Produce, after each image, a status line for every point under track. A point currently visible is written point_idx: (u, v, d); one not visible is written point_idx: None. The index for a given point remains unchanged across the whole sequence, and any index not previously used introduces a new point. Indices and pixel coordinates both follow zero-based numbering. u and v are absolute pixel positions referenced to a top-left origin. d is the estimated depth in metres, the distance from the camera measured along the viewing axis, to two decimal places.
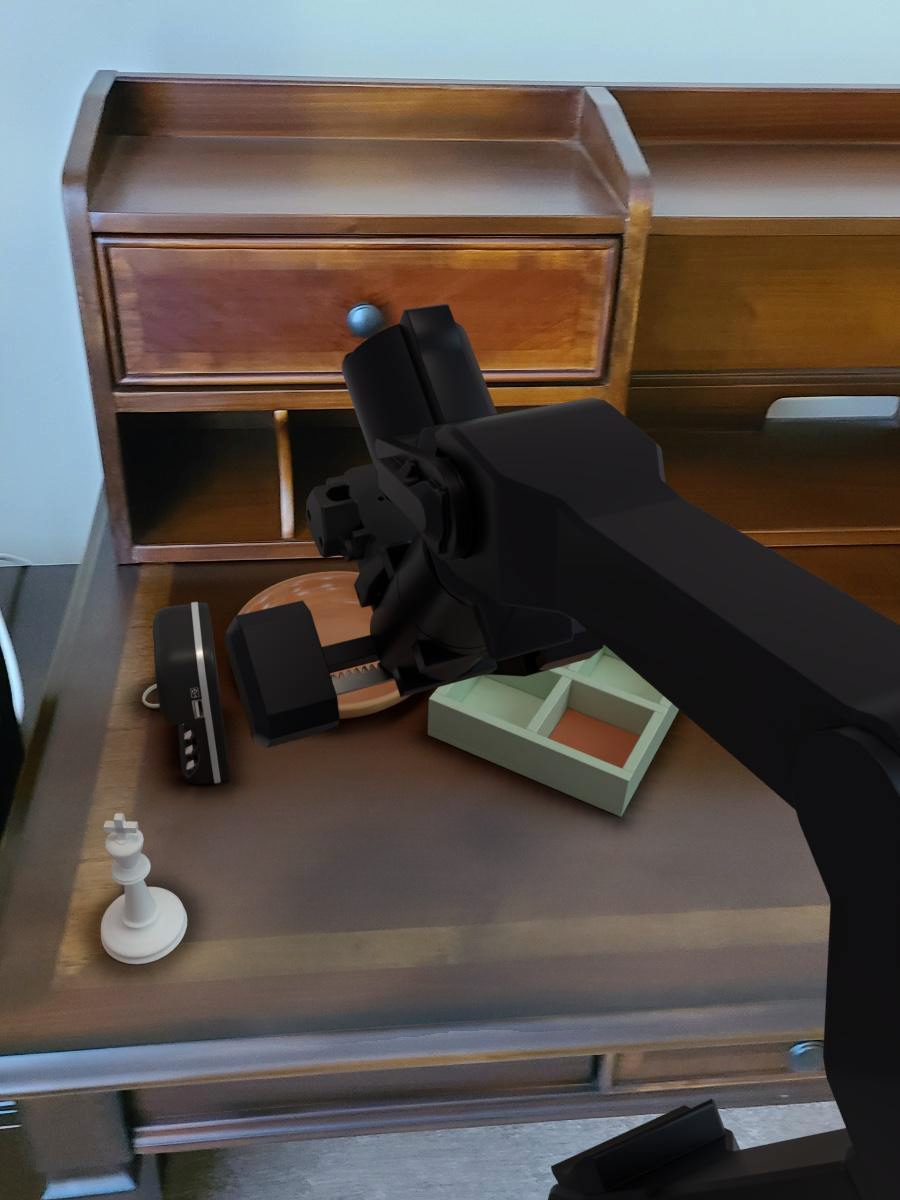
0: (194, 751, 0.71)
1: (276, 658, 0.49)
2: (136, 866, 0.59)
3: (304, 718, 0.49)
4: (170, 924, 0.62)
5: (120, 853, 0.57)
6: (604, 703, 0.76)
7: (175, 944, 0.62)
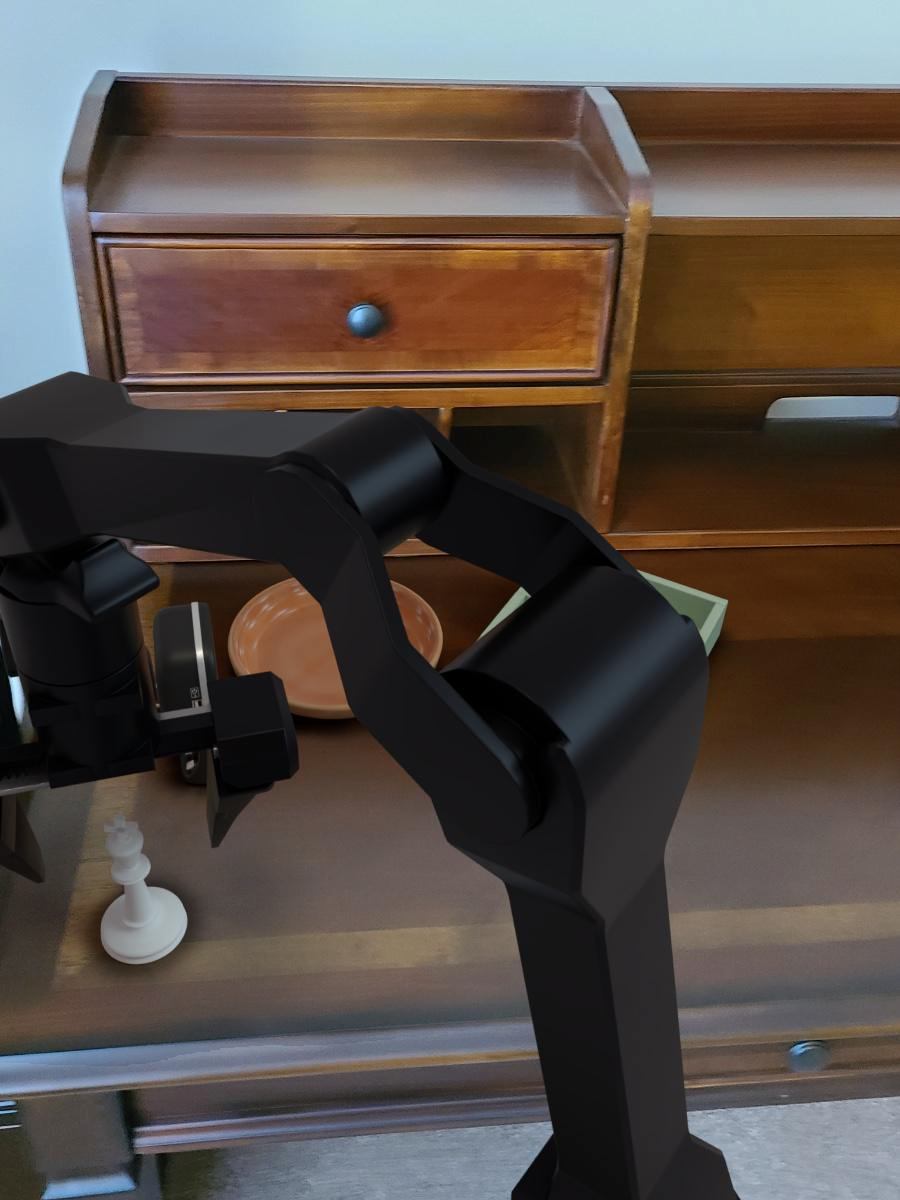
0: None
1: None
2: (136, 866, 0.59)
3: None
4: (170, 924, 0.62)
5: (120, 853, 0.57)
6: None
7: (175, 944, 0.62)
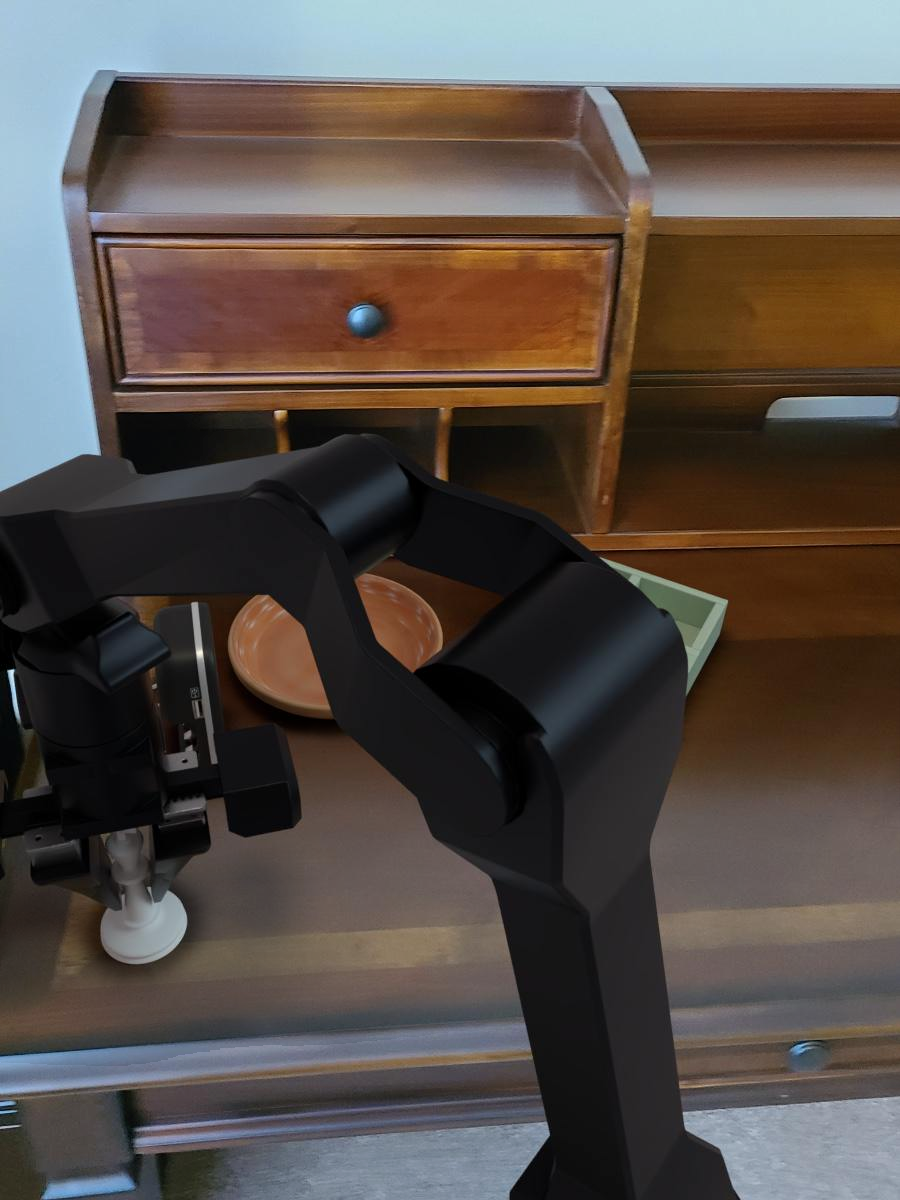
0: None
1: None
2: (136, 866, 0.59)
3: None
4: (170, 924, 0.62)
5: (120, 853, 0.57)
6: None
7: (175, 944, 0.62)
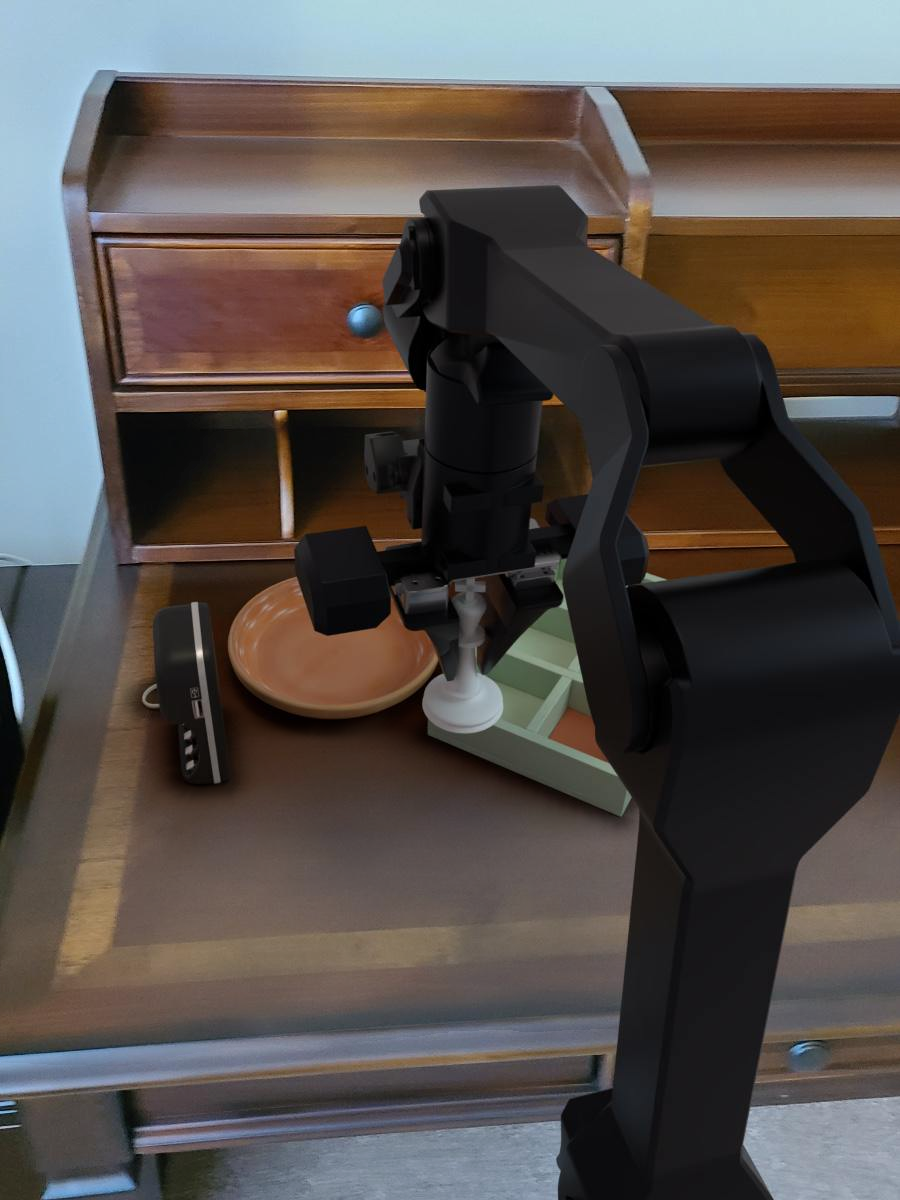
0: (194, 751, 0.71)
1: (333, 551, 0.55)
2: (475, 631, 0.61)
3: (356, 590, 0.54)
4: (492, 698, 0.64)
5: (470, 611, 0.59)
6: None
7: (498, 717, 0.64)
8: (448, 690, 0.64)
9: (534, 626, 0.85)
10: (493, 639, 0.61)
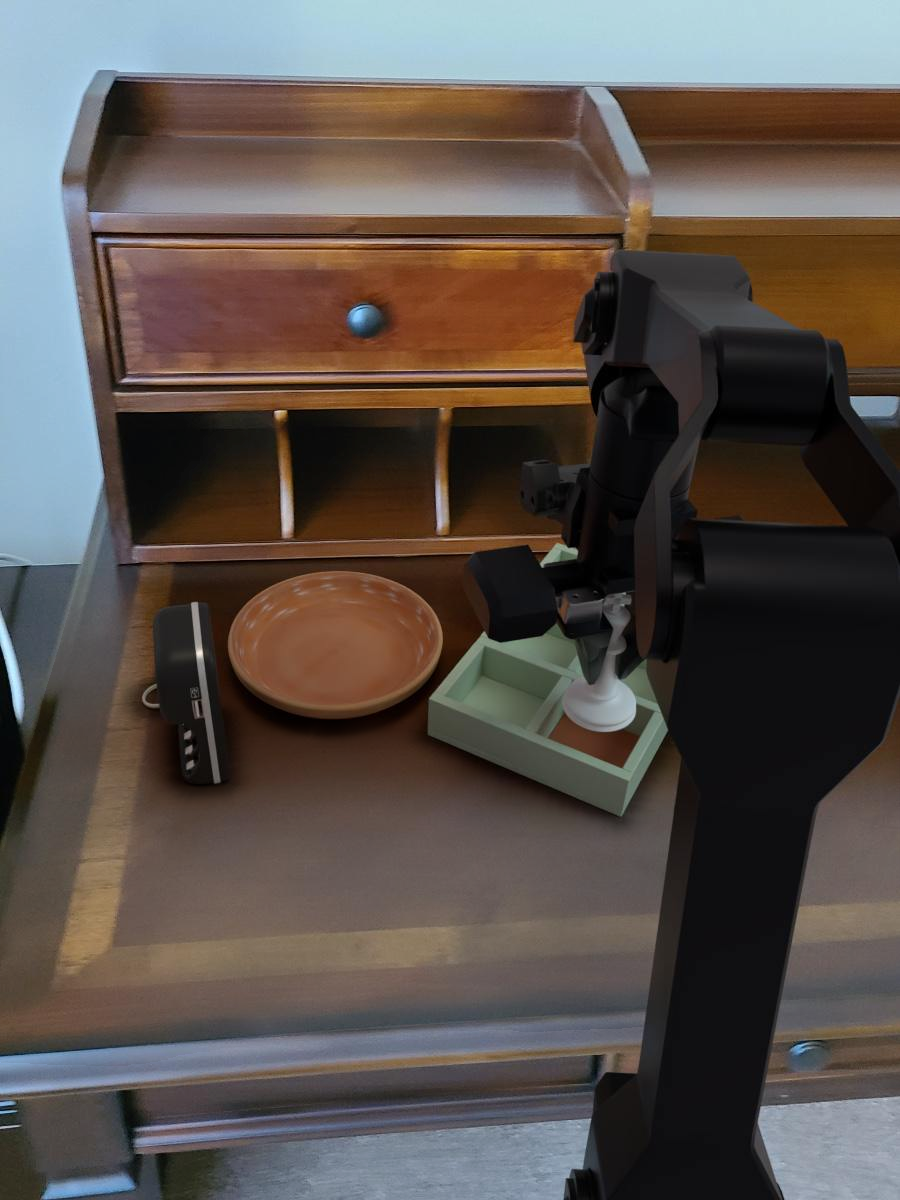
0: (194, 751, 0.71)
1: (503, 567, 0.62)
2: (618, 639, 0.68)
3: (528, 602, 0.60)
4: (628, 700, 0.71)
5: (616, 622, 0.66)
6: None
7: (632, 717, 0.71)
8: (588, 692, 0.70)
9: None
10: (634, 647, 0.67)
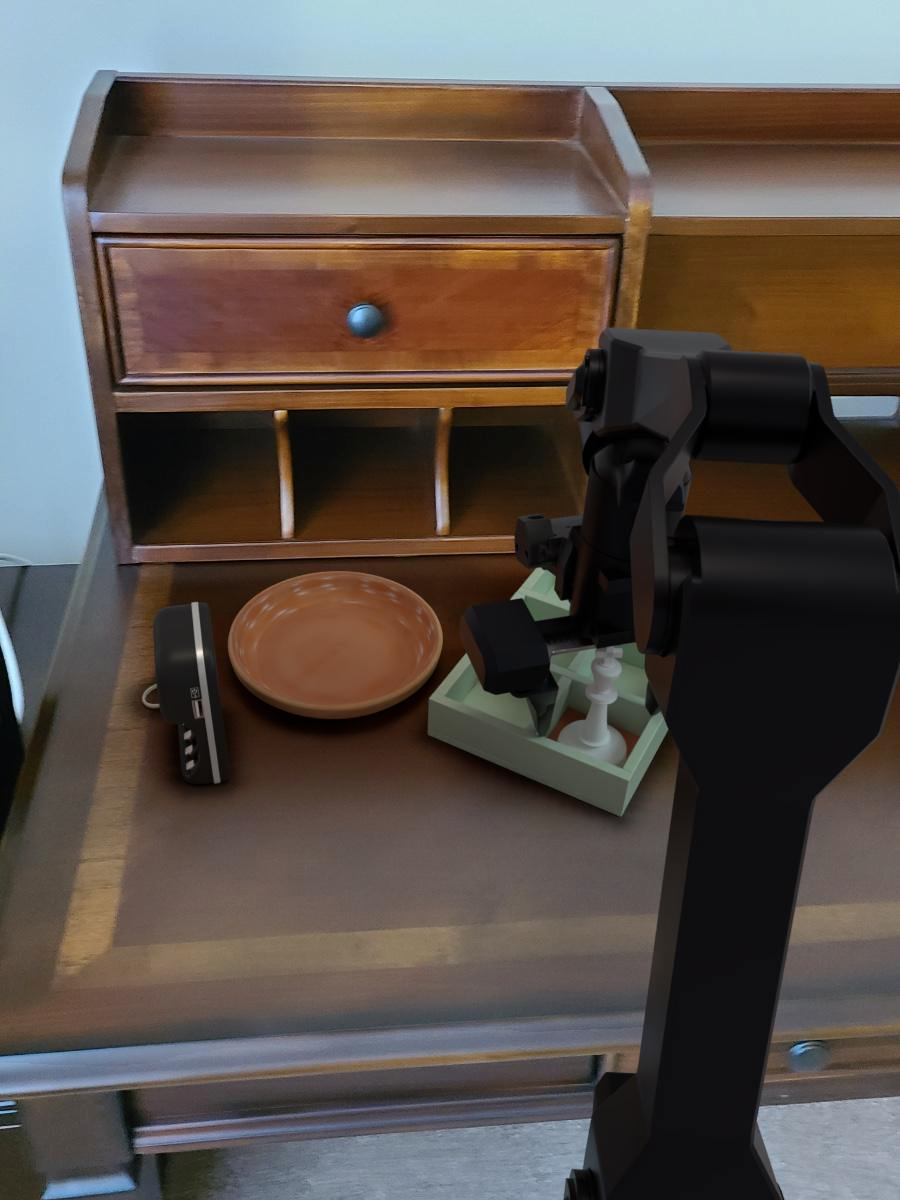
0: (194, 751, 0.71)
1: (498, 621, 0.65)
2: (609, 689, 0.70)
3: (522, 657, 0.63)
4: (618, 746, 0.73)
5: (608, 674, 0.69)
6: None
7: (623, 762, 0.73)
8: (581, 739, 0.73)
9: None
10: None
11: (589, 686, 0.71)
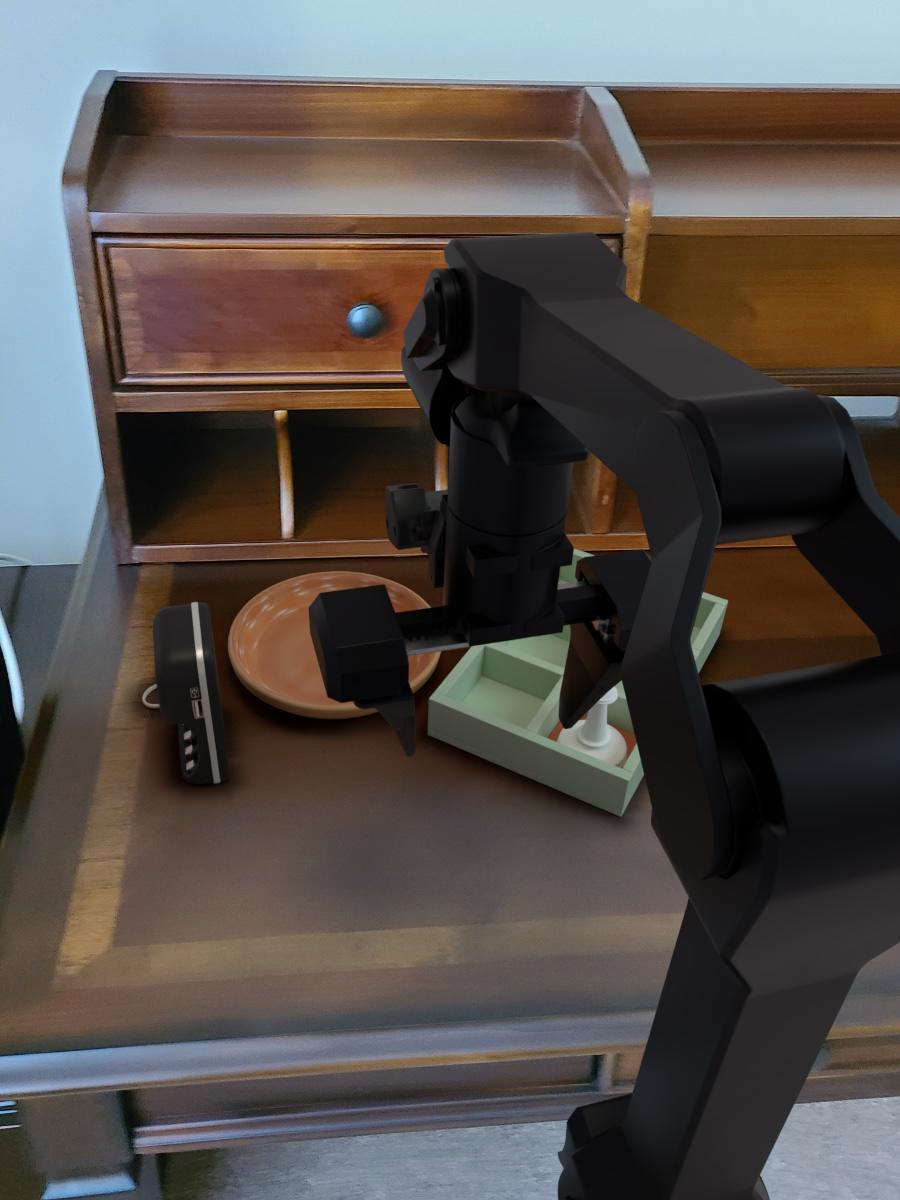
0: (194, 751, 0.71)
1: (349, 612, 0.52)
2: None
3: (372, 656, 0.50)
4: (618, 746, 0.73)
5: None
6: None
7: (623, 762, 0.73)
8: (581, 739, 0.73)
9: None
10: (579, 693, 0.58)
11: None
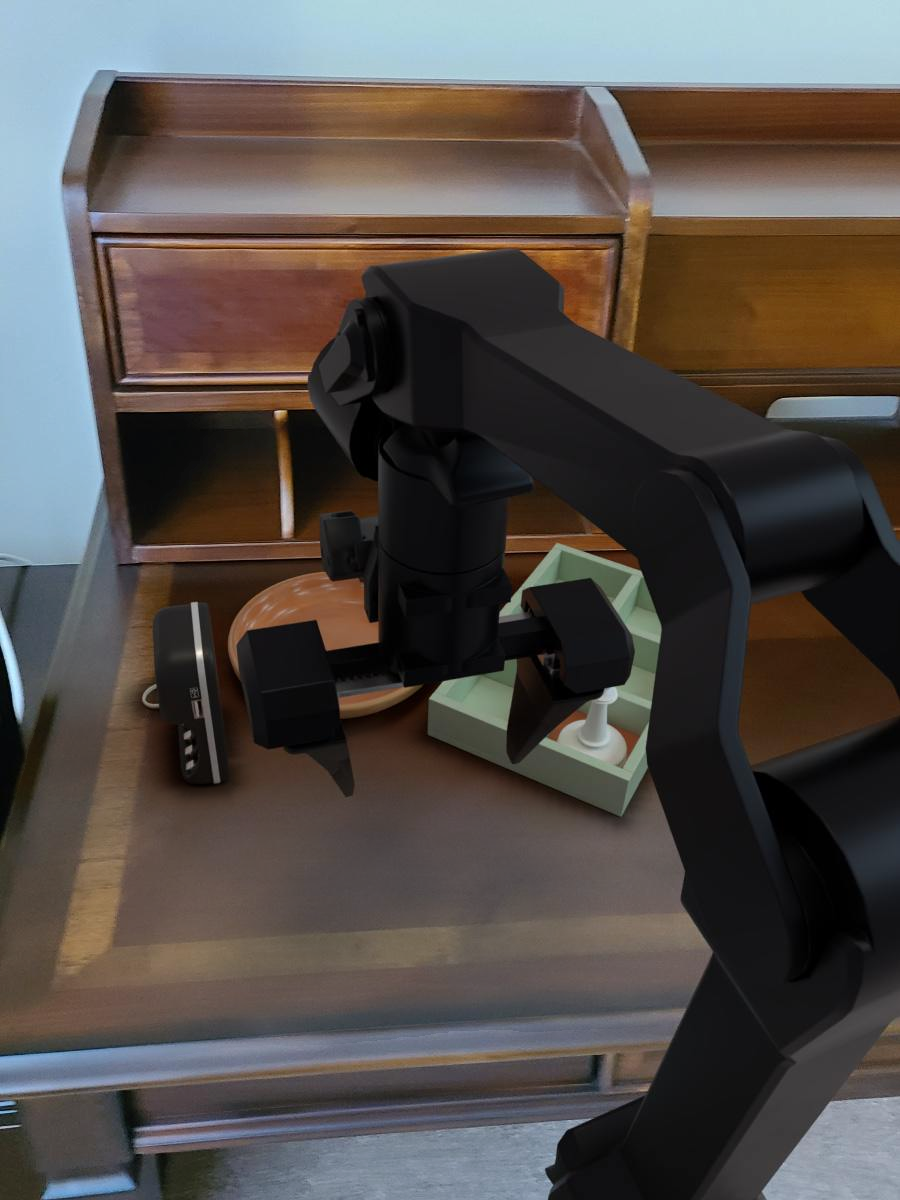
0: (194, 751, 0.71)
1: (277, 651, 0.49)
2: (609, 689, 0.70)
3: (300, 700, 0.48)
4: (618, 746, 0.73)
5: None
6: None
7: (623, 762, 0.73)
8: (581, 739, 0.73)
9: None
10: (526, 729, 0.55)
11: None
